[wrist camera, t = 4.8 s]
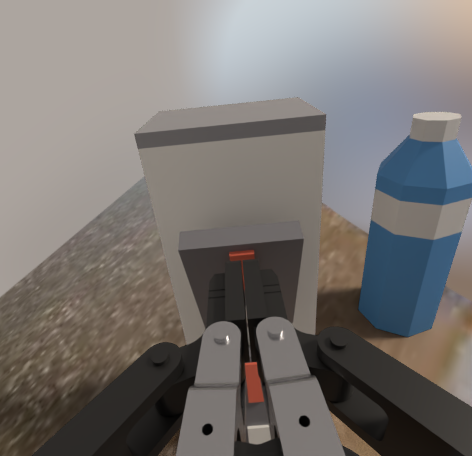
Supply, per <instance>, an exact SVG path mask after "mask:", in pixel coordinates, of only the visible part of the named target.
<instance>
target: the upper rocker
mask: <svg viewBox="0 0 472 456" xmlns="http://www.w3.org/2000/svg"><path fill="white" fill-rule="evenodd" d="M303 243H304V237H303V233H302V229H301V225H300V222H299V220H296V221H286V222H275V223H265V224H254V225H244V226H233V227H223V228H212V229H202V230H191V231H181V232H180V233H179V245H178V252H179V255H180V257H181V260H182V263H183V266H184V269H185V272H186V275H187V278H188V280H189V283H190V286H191V289H192V292H193V295H194V298H195V300H196V303H197V306H198V309H199V312H200V315H201V318H202V321H203V323H204V326H205V329H206V321H207V307H208V292H209V281H210V280H211V278H212V277H213V275H214V274H219V273H225V262H227V261H238V260H241V265H242V275H243V285H244V274H243V262H242V260H249V259H258V260H259V267H260V270H263V269H272V270H273V271H274V273H275V274H276V275H277V276H278V280H279V285H280V289H281V293H282V297H283V301H284V306H285V310H286V314H287V318H288V321H289V322H290V323H293V319H294V311H295V303H296V296H297V288H298V281H299V273H300V265H301V258H302V250H303ZM244 295H245V286H244ZM245 307H246V298H245ZM246 319H247V310H246ZM247 327H248V321H247Z"/></svg>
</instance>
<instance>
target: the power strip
mask: <svg viewBox="0 0 472 456" xmlns="http://www.w3.org/2000/svg"><path fill="white" fill-rule="evenodd" d="M325 124H326V114H325V113H323V112H321V111H320V110H318V109H316V108H315V107H313V106H311V105H310V104H308V103H307V102H305V101H303V100H302V99H300V98H298V97H297V98H287V99H277V100H267V101H257V102H247V103H238V104H228V105H218V106H209V107H199V108H189V109H180V110H169V111H160V112H158V113H157V114H156V115H155V116H154V117H152V118H151V119H150V120H149V121H148V122H147V123H146V124H145V125H143V126H142V127H141V128H140V129H139V130H138V131H137V132H136V133H135V134H134V135H135V139H136V143H137V147H138V150H139V155H140V159H141V163H142V167H143V171H144V175H145V179H146V183H147V187H148V191H149V195H150V199H151V203H152V207H153V211H154V215H155V219H156V223H157V227H158V231H159V235H160V239H161V243H162V247H163V251H164V255H165V259H166V263H167V267H168V271H169V275H170V279H171V283H172V287H173V291H174V295H175V299H176V303H177V307H178V311H179V315H180V319H181V323H182V327H183V331H184V335H185V339H186V343H187V345H188V344H190V343H192V342H194V341H196V340H197V339H198V338H200V337H201V336H202V334H203V333H204V331H205V326H204V323H203V321H202V318H201V315H200V312H199V309H198V306H197V303H196V300H195V298H194V295H193V292H192V289H191V286H190V283H189V280H188V278H187V275H186V272H185V269H184V266H183V263H182V260H181V257H180V255H179V252H178V245H179V233H180V232H181V231H191V230H202V229H212V228H223V227H233V226H244V225H254V224H265V223H275V222H286V221H296V220H299V222H300V225H301V229H302V233H303V237H304V243H303V250H302V258H301V265H300V273H299V281H298V288H297V296H296V303H295V311H294V319H293V323H292V325H293V326H294V328H295V329H297V330H299V331H301V332H304V333H307V334H313V335H315V326H316V306H317V286H318V266H319V246H320V225H321V205H322V185H323V165H324V144H325ZM247 332H248V344H249V347H250V341H249V331H248V327H247Z"/></svg>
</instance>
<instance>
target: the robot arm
mask: <svg viewBox="0 0 472 456" xmlns="http://www.w3.org/2000/svg"><path fill="white" fill-rule="evenodd" d="M242 262H243V274H244V285H243V275H242V265H241V260H238V261H227V262H225V273H219V274H214V275H213V277H212V278H211V280H210V281H209V292H208V307H207V321H206V329H205V331H204V333H203V334H202V336H201V337H200V338H198V339H197V340H196V341H194V342H192V343H190V344H188V345H185V346H182V347H180V348H179V347H178V346H177V345H175V344H173V343H169V342H163V343H159V344H156V345H154V346H152V347H151V348H149V349H148V350H147V351H146V352H145V353H144V354H143V355H141V356H140V357H139V358H138V359H137V360H136V361H135V362H134V363H133V364H132V365H130V366H129V367H128V368H127V369H126V370H125V371H124V372H123V373H122V374H121V375H120V376H118V377H117V378H116V379H115V380H114V381H113V382H112V383H111V384H110V385H109V386H107V387H106V388H105V389H104V390H103V391H102V392H101V393H100V394H99V395H98V396H96V397H95V398H94V399H93V400H92V401H91V402H90V403H89V404H88V405H87V406H86V407H84V408H83V409H82V410H81V411H80V412H79V413H78V414H77V415H76V416H75V417H73V418H72V419H71V420H70V421H69V422H68V423H67V424H66V425H65V426H64V427H62V428H61V429H60V430H59V431H58V432H57V433H56V434H55V435H54V436H53V437H52V438H50V439H49V440H48V441H47V442H46V443H45V444H44V445H43V446H42V447H41V448H39V449H38V450H37V451H36V452H35V453H34V454H33V455H32V456H158V454H159V453H160V452H161V451H162V449H163V448H164V447H165V446H166V444H167V443H168V442H169V441H170V439H171V438H172V437H173V436H174V435H175V433H176V432H177V431H178V430H179V428H180V427H181V431H180V436H179V441H178V447H177V452H176V456H359V455H358V454H356V453H355V452H353V451H352V450H350V449H348V448H346V447H344V446H342V445H341V442H340V439H339V437H338V434H337V431H336V428H335V426H334V423H333V420H332V418H331V415H330V412H329V411H331V412H332V413H333V414H334V415H335V416H336V417H338V418H339V419H340V420H341V421H342V422H343V423H344V424H346V425H347V426H348V427H349V428H350V429H351V430H352V431H354V432H355V433H356V434H357V435H358V436H359V437H360V438H362V439H363V440H364V441H365V442H366V443H367V444H368V445H370V446H371V447H372V448H373V449H374V450H375V451H377V452H378V453H379V454H380V455H381V456H472V407H471V406H469V405H468V404H466V403H465V402H463V401H461V400H460V399H458V398H457V397H455V396H453V395H452V394H450V393H449V392H447V391H445V390H444V389H442V388H441V387H439V386H437V385H436V384H434V383H433V382H431V381H429V380H428V379H426V378H425V377H423V376H422V375H420V374H418V373H417V372H415V371H414V370H412V369H410V368H409V367H407V366H406V365H404V364H402V363H401V362H399V361H398V360H396V359H394V358H393V357H391V356H390V355H388V354H386V353H385V352H383V351H382V350H380V349H378V348H377V347H375V346H374V345H372V344H370V343H369V342H367V341H366V340H364V339H362V338H361V337H359V336H358V335H356V334H354V333H353V332H351V331H350V330H348V329H345V328H342V327H328V328H326V329H324V330H322V331H321V332H320V334H319V336H318V335H313V334H307V333H304V332H301V331H299V330H297V329H295V328H294V326H293V325H292V323H290V322H289V321H288V318H287V314H286V310H285V306H284V301H283V297H282V293H281V289H280V285H279V280H278V276H277V275H276V274H275V273H274V271H273V270H272V269H263V270H260V267H259V260H258V259H249V260H242ZM244 286H245V295H244ZM245 298H246V307H245ZM246 310H247V319H246ZM247 321H248V331H249V341H250V350H251V360H252V362H257V370H258V375H259V378H260V382H261V388H262V393H263V398H264V403H265V409H266V414H267V419H268V424H269V430H270V436H271V440H269V441H267V442H264V443H262V444H251V443H246V374H245V363H247V362H250V356H249V344H248V332H247Z"/></svg>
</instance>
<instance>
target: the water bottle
mask: <svg viewBox="0 0 472 456" xmlns="http://www.w3.org/2000/svg"><path fill="white" fill-rule="evenodd" d="M460 122H461V115H460V114H455V113H449V112H424V113H419V114H414V116H413V121H412V126H411V132H410V135H409V136H408V137H407V138H406V139H405V140H404V141H403V142H402V143H401V144H400V145H399V146H398V147H397V148H396V149H395V150H394V151H393V152H392V153H391V154H390V155H389V156H388V157H387V158H386V159H385V160H384V161H383V162H382V163H381V165H380V167H379V170H378V174H377V181H376V187H375V194H374V202H373V208H372V216H371V223H370V230H369V237H368V244H367V251H366V258H365V265H364V272H363V279H362V286H361V293H360V300H359V308H358V310H359V311H360V312H361V313H362V314H363V315H364V316H365V317H366V318H367V319H368V320H369V321H370V323H371V324H372V325H373V326H374V327H375V328H376V329H380V330H384V331H387V332H391V333H394V334H398V335H402V336H405V337H410V336H412V335H415V334H418V333H421V332H423V331H426V330H429V329H431V328H432V325H433V322H434V319H435V316H436V313H437V310H438V306H439V303H440V300H441V297H442V294H443V290H444V287H445V284H446V281H447V278H448V274H449V271H450V268H451V265H452V261H453V258H454V255H455V252H456V249H457V246H458V242H459V239H460V236H461V233H462V229H463V226H464V223H465V220H466V216H467V214H468V210H469V207H470V204H471V201H472V166H471V164H470V162H469V160H468V159H467V157H466V155H465V153H464V151H463V149H462V148H461V146H460V144H459V142H458V140H457V138H456V137H457V133H458V130H459V125H460Z"/></svg>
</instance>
